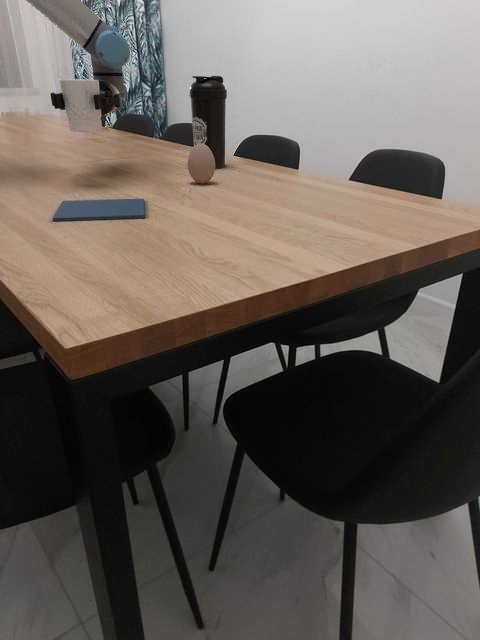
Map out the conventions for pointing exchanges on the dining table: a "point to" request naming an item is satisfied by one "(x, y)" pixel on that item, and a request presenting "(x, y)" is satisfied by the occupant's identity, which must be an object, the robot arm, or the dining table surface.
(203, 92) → the water bottle
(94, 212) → the glassware mat
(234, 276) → the dining table surface
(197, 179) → the egg
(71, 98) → the white cup
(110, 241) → the dining table surface
